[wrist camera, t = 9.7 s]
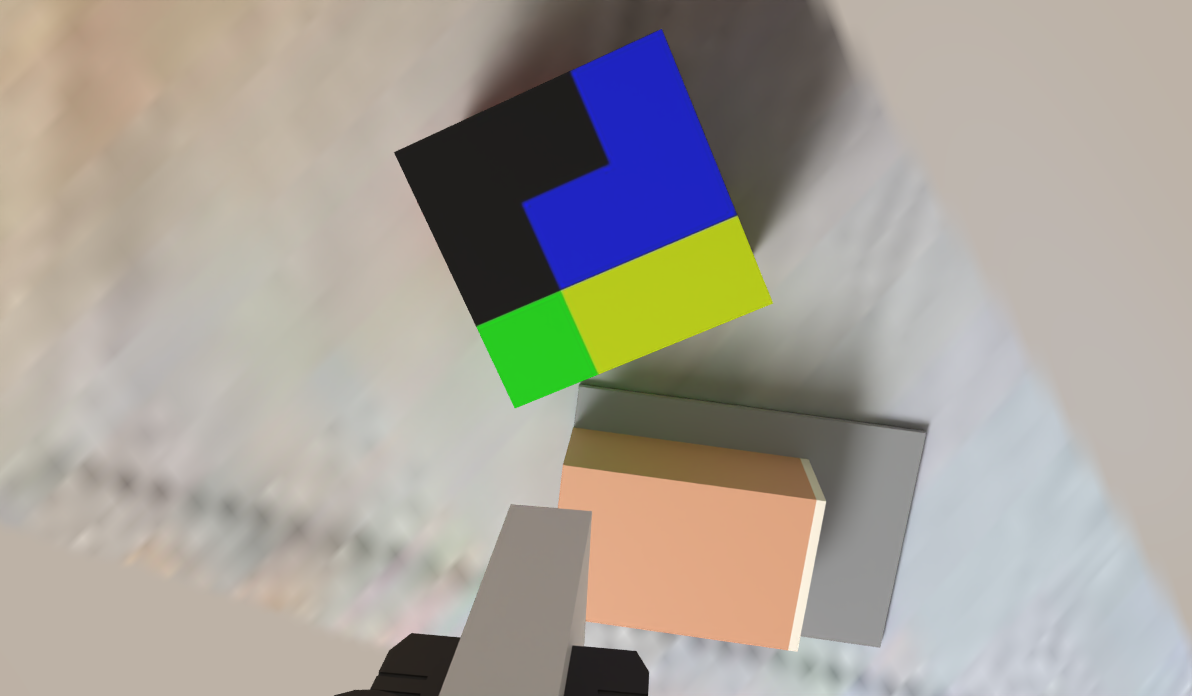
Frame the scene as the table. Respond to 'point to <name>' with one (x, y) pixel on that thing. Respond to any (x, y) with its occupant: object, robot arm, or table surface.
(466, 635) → the robot arm
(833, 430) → the mat
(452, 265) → the puzzle toy
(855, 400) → the table surface
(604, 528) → the block
